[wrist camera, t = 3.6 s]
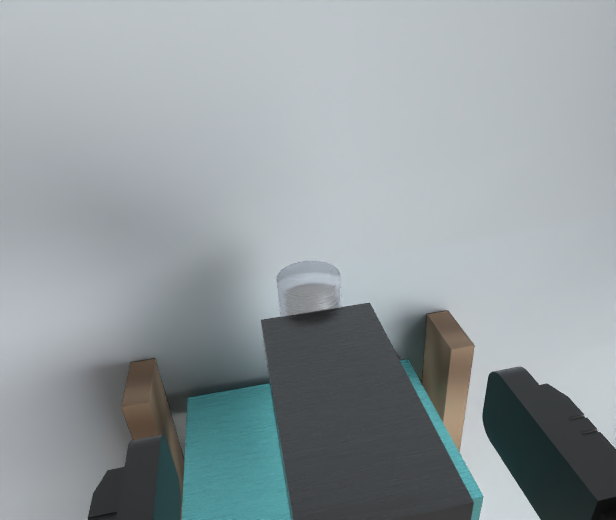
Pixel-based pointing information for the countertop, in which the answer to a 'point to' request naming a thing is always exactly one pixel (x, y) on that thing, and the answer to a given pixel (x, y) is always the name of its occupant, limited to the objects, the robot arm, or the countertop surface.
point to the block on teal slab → (324, 425)
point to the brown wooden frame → (436, 381)
